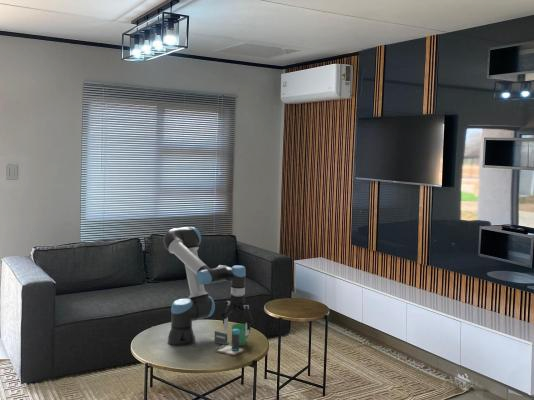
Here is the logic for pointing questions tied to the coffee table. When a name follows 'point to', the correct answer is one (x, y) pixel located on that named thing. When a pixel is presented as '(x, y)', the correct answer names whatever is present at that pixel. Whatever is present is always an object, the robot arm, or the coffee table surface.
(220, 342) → the gray bookend
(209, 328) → the coffee table surface
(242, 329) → the mug
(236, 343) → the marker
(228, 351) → the clipboard
